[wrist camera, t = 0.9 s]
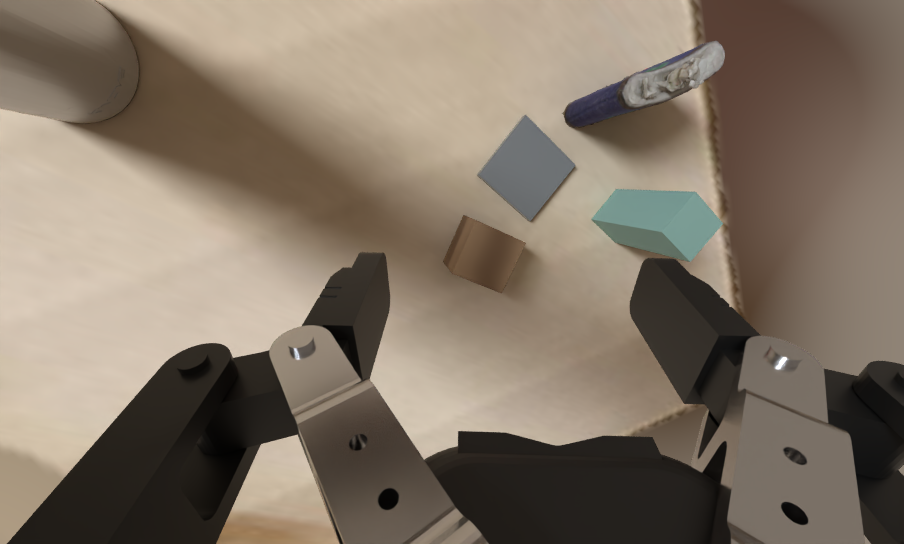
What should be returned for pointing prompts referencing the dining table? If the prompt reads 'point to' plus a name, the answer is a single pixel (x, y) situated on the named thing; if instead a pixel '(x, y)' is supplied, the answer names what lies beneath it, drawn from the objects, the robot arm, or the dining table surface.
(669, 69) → the flask
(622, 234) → the teal post
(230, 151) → the dining table surface
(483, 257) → the walnut block
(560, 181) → the slate coaster
